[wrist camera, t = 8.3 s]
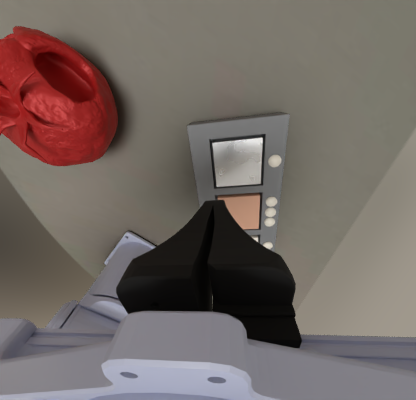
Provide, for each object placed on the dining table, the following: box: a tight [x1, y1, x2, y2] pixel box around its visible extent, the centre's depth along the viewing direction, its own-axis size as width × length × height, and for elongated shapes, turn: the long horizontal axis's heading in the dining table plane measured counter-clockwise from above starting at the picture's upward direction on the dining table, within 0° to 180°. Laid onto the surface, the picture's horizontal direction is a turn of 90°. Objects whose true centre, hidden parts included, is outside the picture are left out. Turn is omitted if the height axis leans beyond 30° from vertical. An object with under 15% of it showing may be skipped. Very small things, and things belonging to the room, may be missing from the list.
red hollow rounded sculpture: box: [0, 26, 118, 166], centre depth 14 cm, size 10×10×9 cm
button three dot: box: [218, 192, 260, 229], centre depth 21 cm, size 5×5×2 cm
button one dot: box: [213, 135, 263, 187], centre depth 18 cm, size 5×5×2 cm
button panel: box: [187, 112, 290, 252], centre depth 21 cm, size 20×9×3 cm, turn 6°
